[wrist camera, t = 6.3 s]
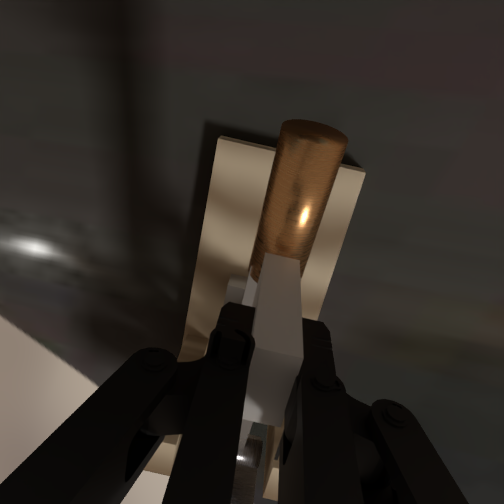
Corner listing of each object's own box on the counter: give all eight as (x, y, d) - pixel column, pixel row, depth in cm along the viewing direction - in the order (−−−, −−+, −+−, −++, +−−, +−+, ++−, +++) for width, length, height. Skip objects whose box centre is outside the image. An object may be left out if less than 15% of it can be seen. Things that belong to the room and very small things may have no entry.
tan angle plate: (221, 135, 31) (177, 174, 19) (362, 168, 31) (405, 227, 20) (181, 361, 40) (134, 483, 28) (290, 387, 40) (290, 518, 29)
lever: (251, 90, 19) (219, 150, 13) (379, 120, 19) (409, 194, 13) (185, 451, 37) (159, 547, 31) (249, 466, 37) (236, 564, 31)
